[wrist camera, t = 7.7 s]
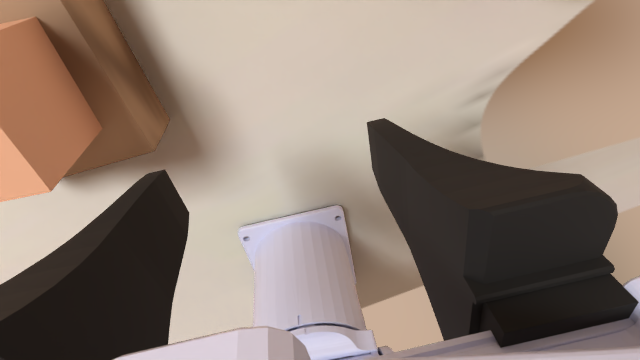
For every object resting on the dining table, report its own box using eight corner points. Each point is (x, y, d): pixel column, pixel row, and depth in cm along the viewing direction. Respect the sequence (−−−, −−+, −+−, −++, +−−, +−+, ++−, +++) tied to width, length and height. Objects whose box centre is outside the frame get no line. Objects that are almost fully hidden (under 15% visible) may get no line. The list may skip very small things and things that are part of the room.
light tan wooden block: (171, 117, 21) (154, 150, 18) (30, 157, 21) (-11, 198, 18) (73, -60, 16) (24, -58, 12) (-112, -3, 16) (-208, 14, 13)
